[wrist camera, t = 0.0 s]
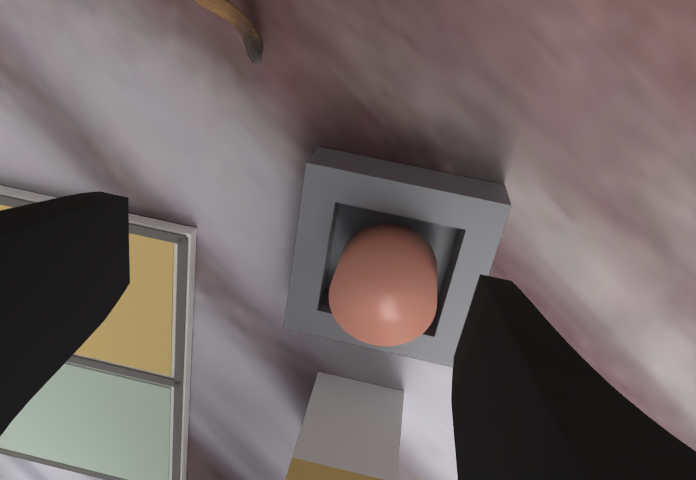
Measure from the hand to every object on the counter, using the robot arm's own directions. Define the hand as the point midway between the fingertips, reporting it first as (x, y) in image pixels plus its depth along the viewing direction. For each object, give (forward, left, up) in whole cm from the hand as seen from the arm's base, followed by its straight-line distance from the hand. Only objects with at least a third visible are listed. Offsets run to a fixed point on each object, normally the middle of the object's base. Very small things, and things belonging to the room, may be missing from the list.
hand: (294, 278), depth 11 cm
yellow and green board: (-13, +14, -10) cm, 22 cm away
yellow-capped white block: (-13, -2, -10) cm, 17 cm away
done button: (-4, -2, -8) cm, 10 cm away
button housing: (-4, -2, -10) cm, 11 cm away
